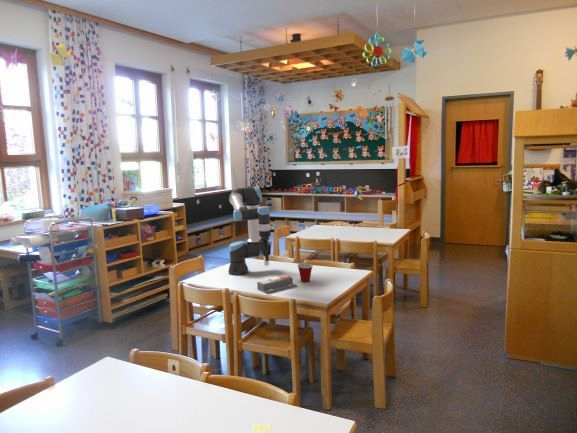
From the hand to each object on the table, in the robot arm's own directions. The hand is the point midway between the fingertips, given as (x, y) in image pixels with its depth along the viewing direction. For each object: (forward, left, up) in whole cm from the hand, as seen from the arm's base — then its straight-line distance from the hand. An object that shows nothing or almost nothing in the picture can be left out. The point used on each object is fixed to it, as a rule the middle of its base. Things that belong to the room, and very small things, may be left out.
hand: (266, 265), depth 289 cm
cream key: (0, +6, -13) cm, 14 cm away
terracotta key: (0, +13, -13) cm, 19 cm away
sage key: (0, -2, -14) cm, 14 cm away
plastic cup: (+3, +29, -17) cm, 33 cm away
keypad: (+2, +6, -16) cm, 17 cm away
